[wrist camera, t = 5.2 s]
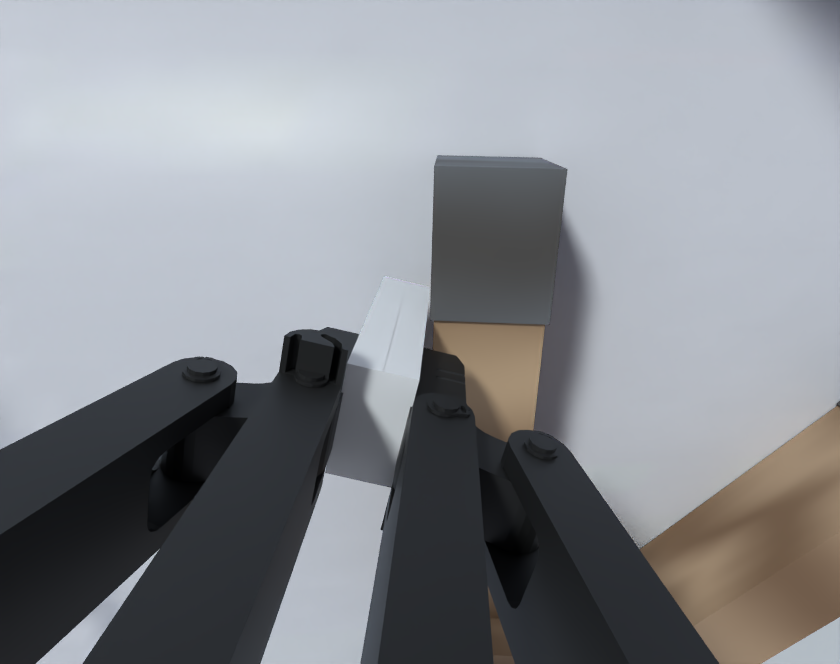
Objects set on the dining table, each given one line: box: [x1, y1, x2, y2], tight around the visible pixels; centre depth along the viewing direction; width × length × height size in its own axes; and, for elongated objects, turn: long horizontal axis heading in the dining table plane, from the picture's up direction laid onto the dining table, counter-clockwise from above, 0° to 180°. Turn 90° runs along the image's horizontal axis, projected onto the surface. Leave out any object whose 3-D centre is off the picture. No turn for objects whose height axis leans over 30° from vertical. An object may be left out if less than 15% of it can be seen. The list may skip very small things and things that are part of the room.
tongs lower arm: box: [640, 401, 840, 664], centre depth 20 cm, size 22×5×4 cm, turn 139°
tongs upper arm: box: [430, 155, 567, 664], centre depth 18 cm, size 23×6×6 cm, turn 179°
